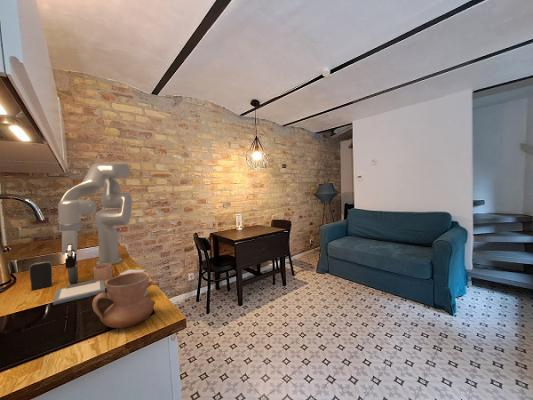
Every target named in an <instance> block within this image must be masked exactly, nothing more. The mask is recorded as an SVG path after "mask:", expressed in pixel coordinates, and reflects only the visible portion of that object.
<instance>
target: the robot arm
mask: <svg viewBox="0 0 533 400" xmlns="http://www.w3.org/2000/svg"><path fill="white" fill-rule="evenodd" d="M130 168H131V167H130V166H129V165H128V164H127V163H113V162H96V163H95V162H94V163H93V164H91V166H90V167H89V169H88V171H87V173H86V174H85V177H84V178H83V180H82V182H80V183H78V184H76V185H75V186H73V187H71V188H70V189H68V190H67V191H65V193H64V194H63V196H61V199H60V201H59V202H58V206H57V210H58V232H59V233H61V254H62V255H65V262H64V263H65V269H68V268H72V267H75V262H78V261H77V251H78V245H79V244H78V243H79V241H78V240H79V238H78V237H79V235H78V234H79V233H78V232H79V231H81V230H82V221H81V220H82V219H81V216H89V215H92V214H94V213H95V212H96V210H97V204H96V203H95V202H94V201H93V200H90V199H81V198H82V197H86V196H89V195H93V194H95V193H97V192H99V191H100V190H101V189H102V187H103V190H102V195H101V201H100V202H101V203H100V204H101V206H102V208H105V209H103V210H99V211H98V212H96V214H95V216H94V219H95V225H96V228H97V234H98V235H97V237H98V238H97V241H98V257H99V258H98V259H99V260H98V261H96V264H95V265H96V266H99V265H104V264H111V266H112V265H116V264H119V263H122V261H123V258H122V257H120V256H119V253H120V252H119V251H120V250H119V233H118V230H117V229H116V228H115V227H116V226H117V227H118V226H127V225H129V223H130V221H131V216H132V206H133V198H132V195H131V194H130V193H129V192H121V185H120V183H119V182H118V181H117V180H116V179H123V178H125V179H126V178H128V177H129V175H130V173H131V169H130Z"/></svg>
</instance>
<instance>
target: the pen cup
mask: <svg viewBox="0 0 533 400" xmlns="http://www.w3.org/2000/svg"><path fill="white" fill-rule="evenodd" d="M112 268H113V267H112V265H111V264H104V265H99V266H98V265H96V266H94V267H93V280H95V281H99V280H103V279H104V282H106V281H107V280H109V279H111V278H113V272H112V271H113V269H112Z"/></svg>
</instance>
